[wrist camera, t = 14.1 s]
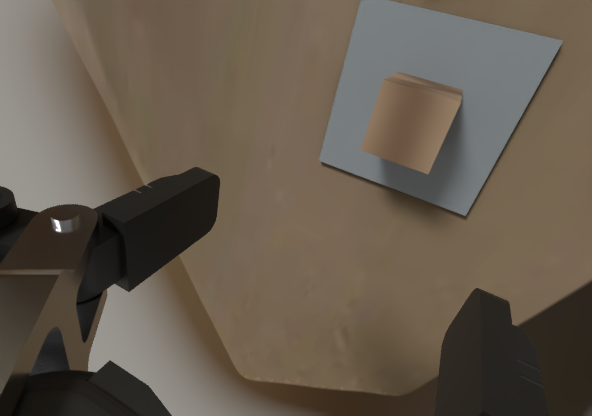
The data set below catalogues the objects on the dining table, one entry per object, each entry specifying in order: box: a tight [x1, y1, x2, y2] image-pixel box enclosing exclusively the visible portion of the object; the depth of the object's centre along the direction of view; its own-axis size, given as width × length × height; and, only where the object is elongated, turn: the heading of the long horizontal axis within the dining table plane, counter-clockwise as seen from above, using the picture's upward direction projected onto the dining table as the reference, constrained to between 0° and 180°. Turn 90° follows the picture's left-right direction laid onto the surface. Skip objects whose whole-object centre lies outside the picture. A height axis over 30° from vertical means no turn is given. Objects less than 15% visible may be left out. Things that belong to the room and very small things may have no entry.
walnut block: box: [360, 72, 463, 174], centre depth 26 cm, size 5×5×6 cm
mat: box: [319, 0, 563, 216], centre depth 28 cm, size 14×14×1 cm
